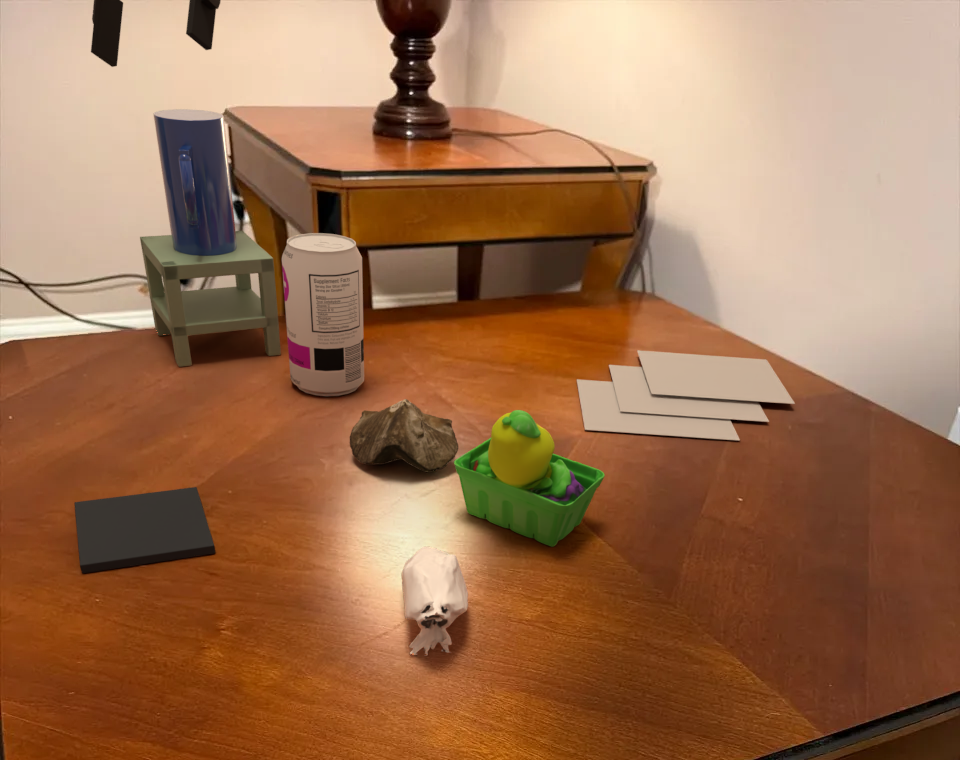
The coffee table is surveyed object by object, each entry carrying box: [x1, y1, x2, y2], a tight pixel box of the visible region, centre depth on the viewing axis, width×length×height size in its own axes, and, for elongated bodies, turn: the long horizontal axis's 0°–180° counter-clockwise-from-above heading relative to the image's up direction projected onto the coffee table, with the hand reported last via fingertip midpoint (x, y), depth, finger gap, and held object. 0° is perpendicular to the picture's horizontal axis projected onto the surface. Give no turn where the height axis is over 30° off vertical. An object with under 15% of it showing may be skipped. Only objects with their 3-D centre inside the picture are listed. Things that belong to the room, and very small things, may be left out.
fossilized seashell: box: [349, 398, 459, 473], centre depth 83 cm, size 8×7×10 cm
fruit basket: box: [453, 409, 606, 548], centre depth 73 cm, size 11×9×11 cm
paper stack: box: [576, 349, 796, 441], centre depth 101 cm, size 23×25×1 cm
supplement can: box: [281, 232, 365, 397], centre depth 93 cm, size 8×8×15 cm
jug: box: [153, 108, 237, 256], centre depth 93 cm, size 10×7×13 cm
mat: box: [73, 486, 216, 574], centre depth 71 cm, size 10×10×1 cm
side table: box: [139, 230, 282, 368], centre depth 102 cm, size 12×12×11 cm
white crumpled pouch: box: [400, 545, 469, 656], centre depth 63 cm, size 5×7×10 cm
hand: (149, 51), depth 89 cm, fingers open, 13 cm apart
